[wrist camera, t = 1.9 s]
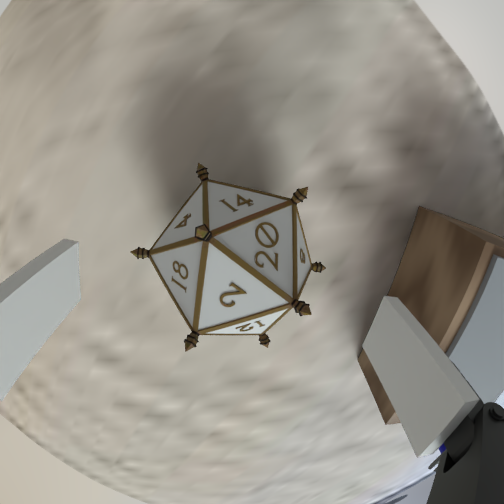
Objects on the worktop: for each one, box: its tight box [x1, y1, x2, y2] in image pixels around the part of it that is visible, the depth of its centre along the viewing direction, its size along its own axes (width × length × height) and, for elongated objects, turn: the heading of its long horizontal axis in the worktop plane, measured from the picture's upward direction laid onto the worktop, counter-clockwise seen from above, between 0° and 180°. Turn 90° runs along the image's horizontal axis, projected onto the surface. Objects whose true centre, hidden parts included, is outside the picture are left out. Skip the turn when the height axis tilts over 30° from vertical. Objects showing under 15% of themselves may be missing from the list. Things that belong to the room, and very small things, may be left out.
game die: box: [131, 163, 325, 352], centre depth 14 cm, size 9×8×10 cm
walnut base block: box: [358, 206, 504, 425], centre depth 17 cm, size 13×13×7 cm
